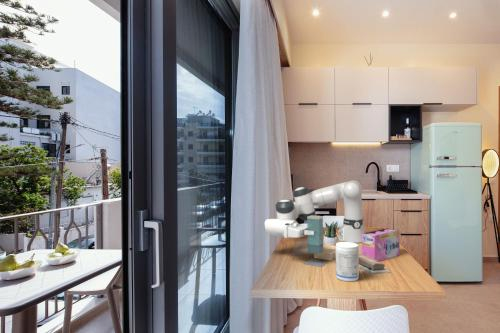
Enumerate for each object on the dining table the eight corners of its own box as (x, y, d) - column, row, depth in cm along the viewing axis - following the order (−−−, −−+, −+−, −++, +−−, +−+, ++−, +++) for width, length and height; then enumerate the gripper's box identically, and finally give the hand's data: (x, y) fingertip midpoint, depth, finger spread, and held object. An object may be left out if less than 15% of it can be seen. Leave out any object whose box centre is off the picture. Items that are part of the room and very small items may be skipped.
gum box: (388, 252, 181) (388, 227, 181) (401, 255, 174) (401, 230, 174) (361, 259, 167) (361, 233, 167) (375, 262, 161) (374, 235, 161)
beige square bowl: (307, 259, 168) (306, 249, 168) (318, 252, 180) (318, 243, 180) (334, 263, 159) (334, 253, 159) (344, 256, 172) (344, 246, 172)
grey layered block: (349, 254, 161) (367, 252, 163) (349, 263, 161) (367, 262, 163) (370, 264, 143) (390, 263, 146) (370, 275, 143) (390, 273, 145)
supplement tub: (337, 273, 145) (337, 240, 145) (359, 276, 141) (359, 242, 141) (334, 280, 136) (334, 245, 136) (358, 283, 132) (357, 247, 132)
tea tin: (307, 252, 158) (307, 216, 159) (311, 249, 163) (311, 215, 163) (319, 253, 155) (318, 217, 155) (323, 251, 159) (323, 216, 159)
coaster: (303, 265, 158) (303, 263, 158) (311, 260, 165) (311, 259, 165) (321, 268, 153) (321, 266, 153) (328, 263, 160) (328, 261, 160)
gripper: (300, 231, 175) (325, 234, 167) (282, 238, 158) (308, 242, 150) (300, 220, 175) (324, 222, 167) (282, 225, 158) (308, 228, 150)
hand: (316, 231), depth 158 cm, fingers closed on tea tin, 5 cm apart
